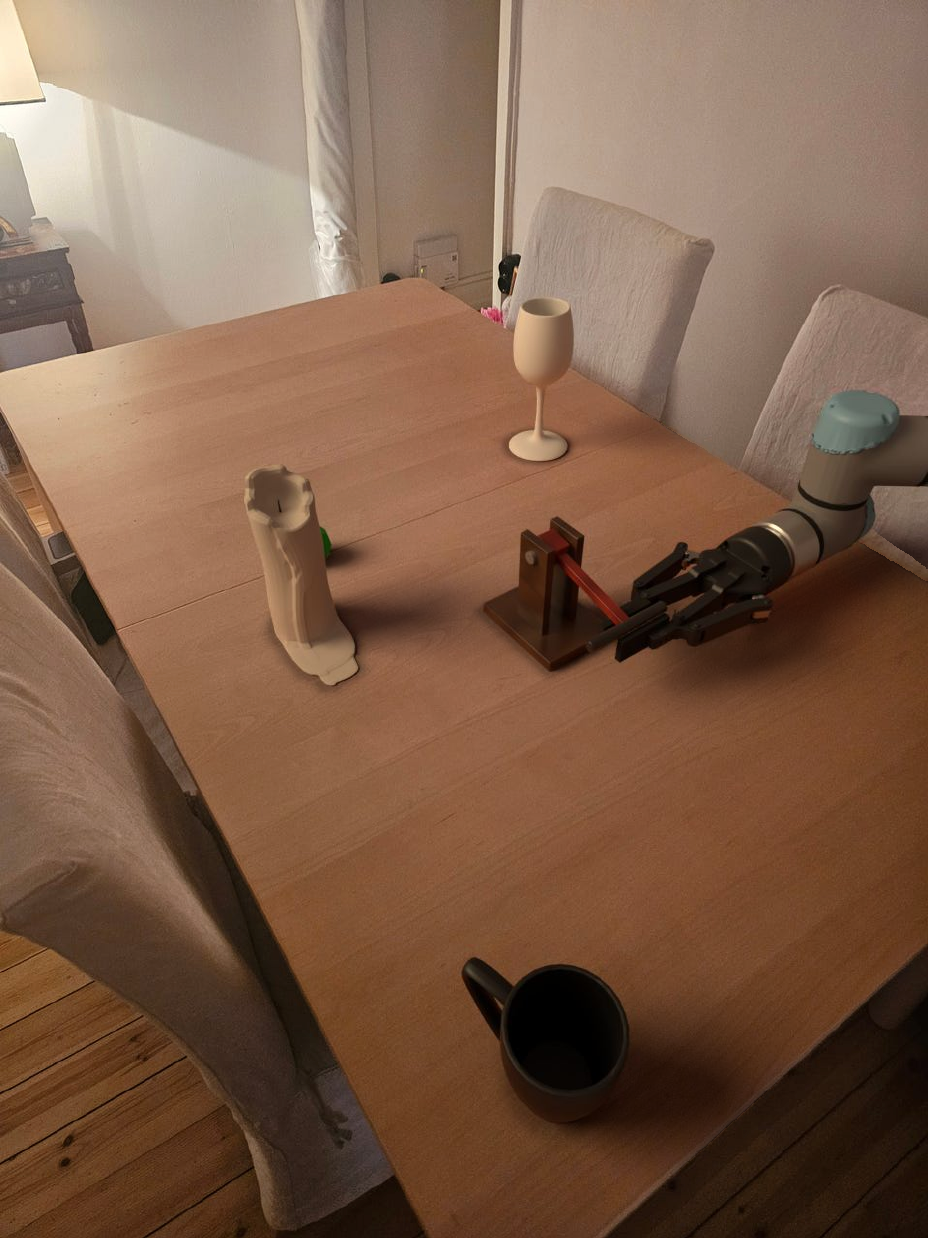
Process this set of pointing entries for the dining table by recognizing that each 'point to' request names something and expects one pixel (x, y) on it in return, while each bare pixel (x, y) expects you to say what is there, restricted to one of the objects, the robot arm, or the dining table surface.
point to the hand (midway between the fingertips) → (609, 643)
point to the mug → (554, 1035)
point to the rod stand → (546, 602)
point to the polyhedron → (325, 542)
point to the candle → (297, 573)
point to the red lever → (598, 595)
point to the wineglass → (542, 367)
